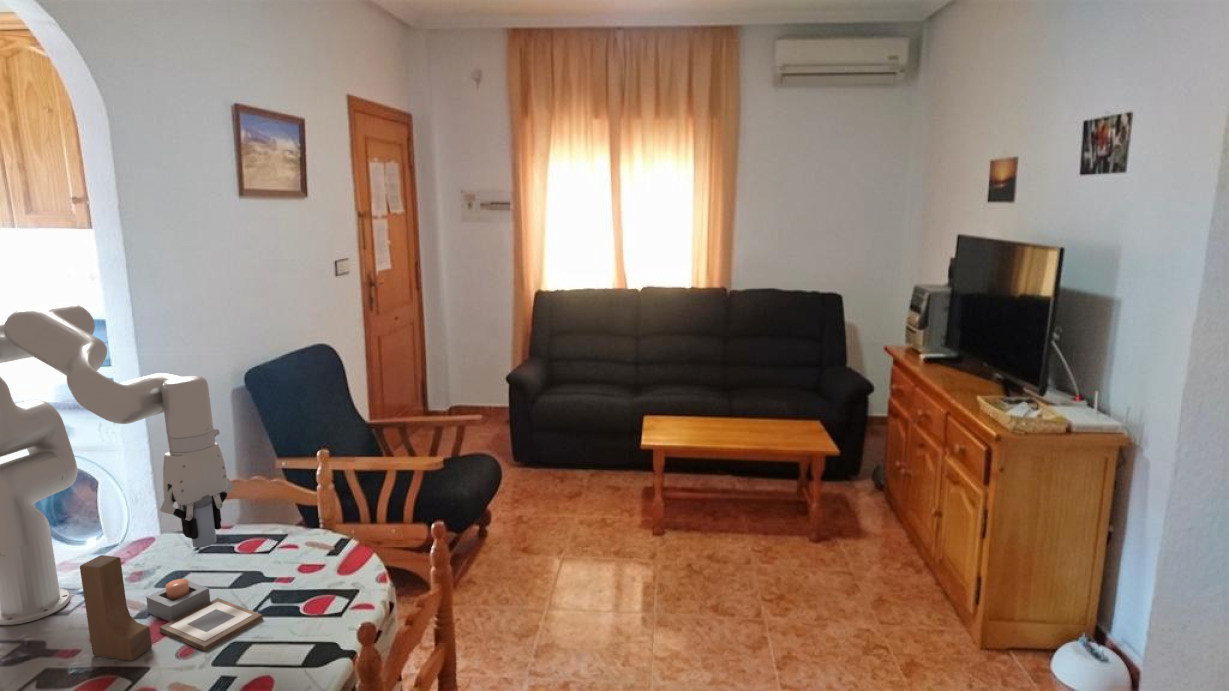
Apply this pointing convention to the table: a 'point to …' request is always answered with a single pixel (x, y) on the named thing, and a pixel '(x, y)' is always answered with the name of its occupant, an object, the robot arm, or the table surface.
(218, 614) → the picture frame
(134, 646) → the wooden block
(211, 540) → the grey capped shaker
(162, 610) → the button housing
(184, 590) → the button
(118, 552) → the table surface
